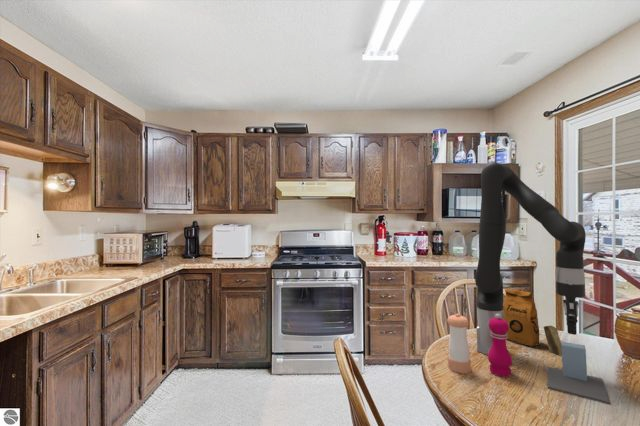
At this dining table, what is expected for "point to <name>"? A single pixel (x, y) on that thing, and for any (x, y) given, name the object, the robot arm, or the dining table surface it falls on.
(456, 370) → the pepper shaker
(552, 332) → the rock
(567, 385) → the mat
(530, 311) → the coffee package
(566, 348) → the block
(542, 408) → the dining table surface
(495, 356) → the pepper mill
